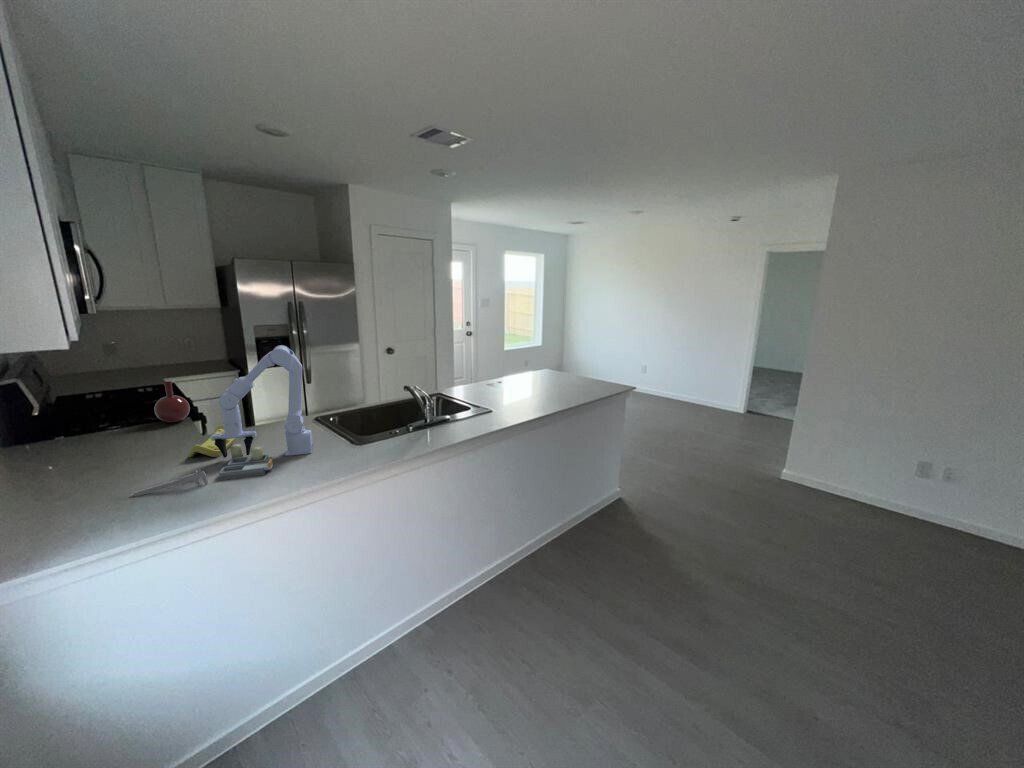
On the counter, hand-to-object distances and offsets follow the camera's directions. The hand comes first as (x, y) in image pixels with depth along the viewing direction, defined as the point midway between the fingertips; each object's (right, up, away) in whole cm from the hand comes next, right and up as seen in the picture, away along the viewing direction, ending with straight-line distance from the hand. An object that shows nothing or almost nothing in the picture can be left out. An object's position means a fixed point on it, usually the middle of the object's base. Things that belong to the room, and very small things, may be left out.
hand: (237, 455), depth 157 cm
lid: (+15, -3, -10) cm, 18 cm away
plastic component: (-15, +1, +9) cm, 17 cm away
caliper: (-6, -8, -24) cm, 26 cm away
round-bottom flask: (-57, +10, +38) cm, 69 cm away
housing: (+9, -4, -8) cm, 13 cm away
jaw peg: (0, -1, 0) cm, 2 cm away
